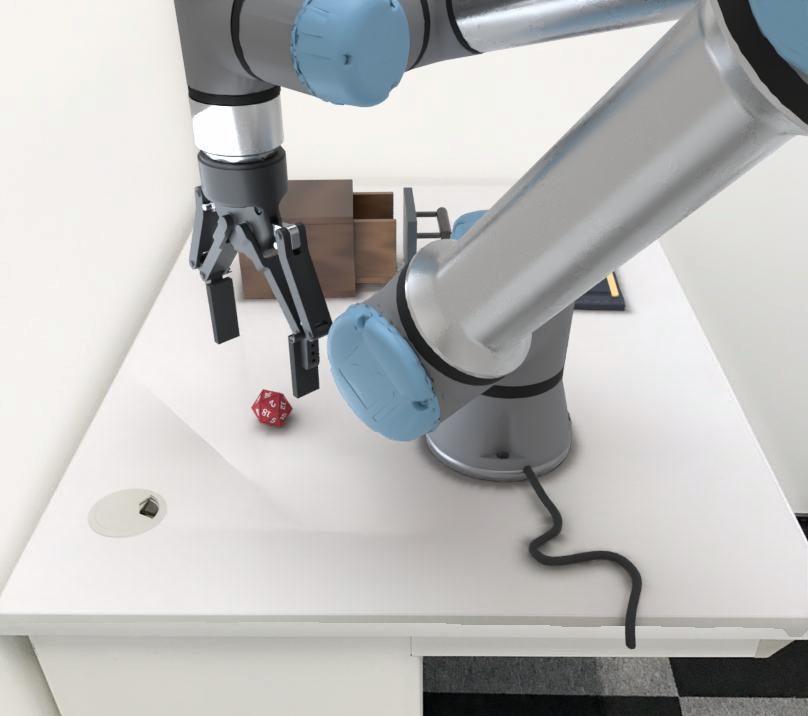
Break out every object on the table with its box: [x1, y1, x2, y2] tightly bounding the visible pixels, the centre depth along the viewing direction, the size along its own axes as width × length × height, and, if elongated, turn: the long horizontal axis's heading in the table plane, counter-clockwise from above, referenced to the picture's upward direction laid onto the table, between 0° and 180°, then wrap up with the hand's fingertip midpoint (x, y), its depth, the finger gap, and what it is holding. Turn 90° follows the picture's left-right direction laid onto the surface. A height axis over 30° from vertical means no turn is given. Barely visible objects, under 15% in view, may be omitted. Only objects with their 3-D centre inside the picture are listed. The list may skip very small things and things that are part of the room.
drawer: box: [353, 186, 452, 284], centre depth 114 cm, size 18×12×9 cm, turn 93°
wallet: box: [574, 270, 626, 311], centre depth 118 cm, size 20×2×15 cm
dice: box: [250, 388, 293, 428], centre depth 90 cm, size 4×4×4 cm
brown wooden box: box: [237, 178, 357, 300], centre depth 114 cm, size 15×13×11 cm
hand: (265, 364), depth 87 cm, fingers open, 13 cm apart
